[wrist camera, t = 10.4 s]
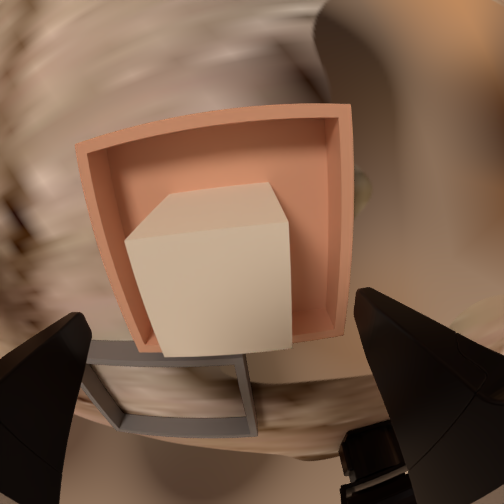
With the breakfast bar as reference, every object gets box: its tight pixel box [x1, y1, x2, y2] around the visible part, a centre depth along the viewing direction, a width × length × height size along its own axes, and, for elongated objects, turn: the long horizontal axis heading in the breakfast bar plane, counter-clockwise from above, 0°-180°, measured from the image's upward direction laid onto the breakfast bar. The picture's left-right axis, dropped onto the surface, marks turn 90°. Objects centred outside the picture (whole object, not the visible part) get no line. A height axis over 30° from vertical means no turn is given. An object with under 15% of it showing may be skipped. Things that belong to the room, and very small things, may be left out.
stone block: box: [124, 182, 292, 357], centre depth 12 cm, size 5×5×6 cm
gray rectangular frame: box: [80, 340, 258, 438], centre depth 20 cm, size 14×11×2 cm
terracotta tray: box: [75, 104, 354, 352], centre depth 14 cm, size 12×12×2 cm
